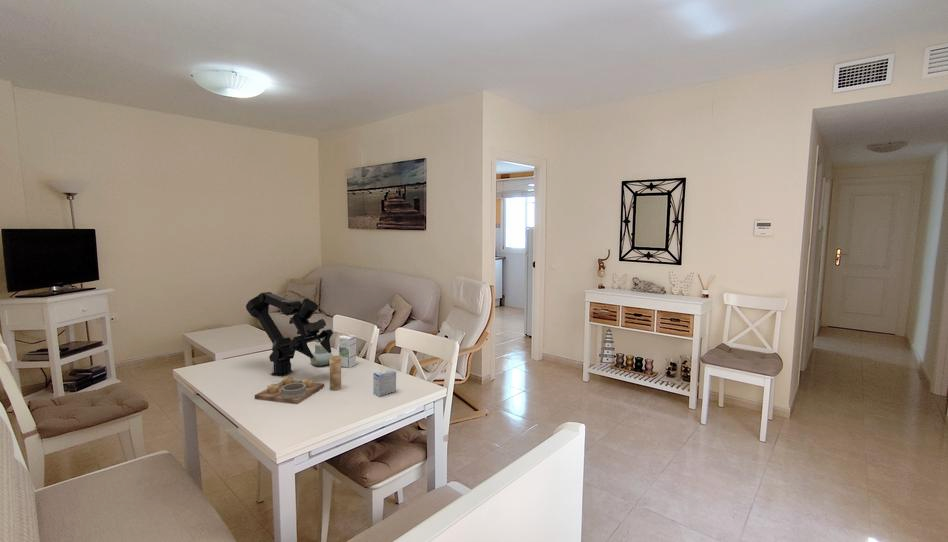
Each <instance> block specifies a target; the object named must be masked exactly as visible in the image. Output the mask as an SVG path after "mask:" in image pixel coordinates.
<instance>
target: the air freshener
mask: <svg viewBox="0 0 948 542" xmlns="http://www.w3.org/2000/svg"><path fill="white" fill-rule="evenodd" d="M320 343H321V342H316V343H315V344H314V352H313V353H312V355H313V358H312V359H311V358H310V357H309V360H310V362H311V364H312V365H314V366H316V367H320V366H322V367H323V365H324V366H328V365H330V357H331V356H334V355H333V353H332V352H331V353H328V352H327V351H326V350H325V348H324V347H323V346H322V345H321V344H320Z"/></svg>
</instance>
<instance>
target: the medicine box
mask: <svg viewBox="0 0 948 542" xmlns="http://www.w3.org/2000/svg"><path fill="white" fill-rule="evenodd" d="M372 376H373V377H372V378H373V379H372V381H373V383H372V385H373V390H372V393H373V395H375V394H376V395H375V396H377V395H378V396H377V397H379V396H380V397H383V396H386V395H389V394H388V393H390V394H392V393H391V392H393V393H395V392H394V391H396V392H397V371H395V370H394V369H392V368H388V369H383V370H380V371H375V372H373V375H372ZM385 394H386V395H385ZM382 395H383V396H382Z"/></svg>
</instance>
